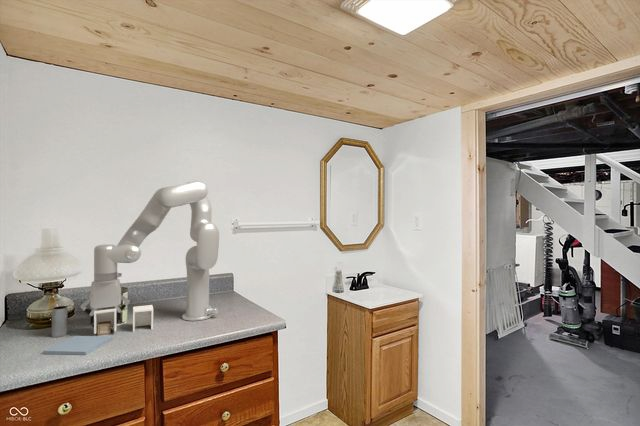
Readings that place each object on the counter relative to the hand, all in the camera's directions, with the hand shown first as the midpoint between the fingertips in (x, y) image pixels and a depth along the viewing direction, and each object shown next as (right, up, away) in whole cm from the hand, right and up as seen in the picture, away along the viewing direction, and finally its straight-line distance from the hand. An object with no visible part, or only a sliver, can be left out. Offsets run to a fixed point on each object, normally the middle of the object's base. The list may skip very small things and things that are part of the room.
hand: (105, 323), depth 131 cm
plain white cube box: (+11, -4, +6) cm, 13 cm away
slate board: (-1, -3, -13) cm, 14 cm away
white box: (0, -2, 0) cm, 2 cm away
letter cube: (0, -4, 0) cm, 4 cm away
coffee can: (-4, -4, +12) cm, 13 cm away
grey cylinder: (-15, -4, -3) cm, 16 cm away
